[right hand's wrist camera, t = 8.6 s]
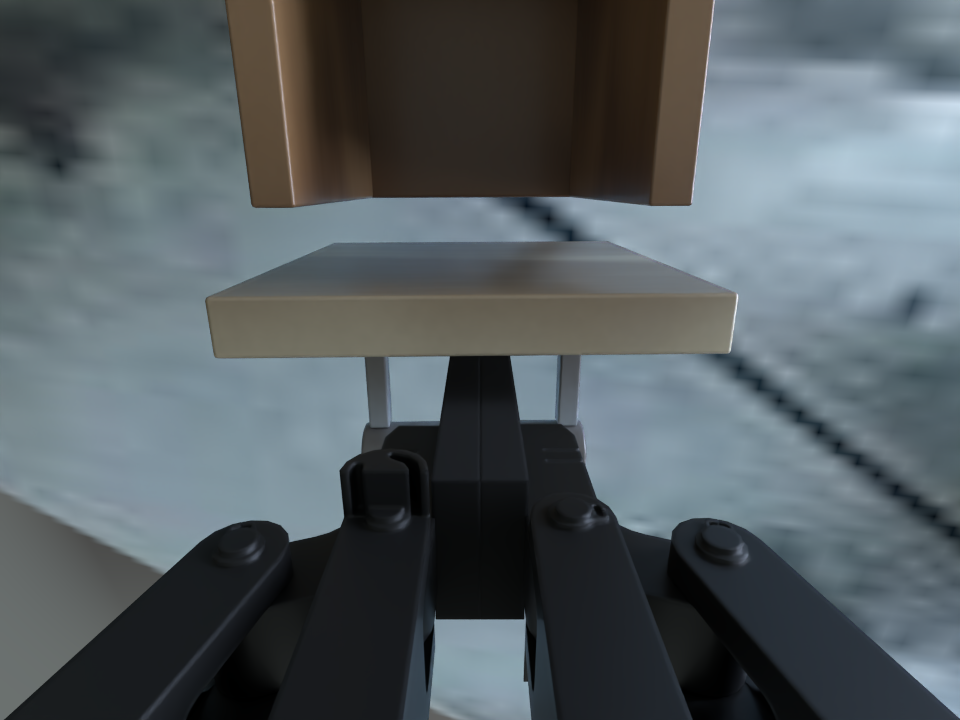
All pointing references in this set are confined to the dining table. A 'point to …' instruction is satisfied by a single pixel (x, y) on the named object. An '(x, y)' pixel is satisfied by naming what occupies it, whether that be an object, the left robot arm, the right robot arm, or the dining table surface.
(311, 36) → the drawer
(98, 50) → the dining table surface
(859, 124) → the dining table surface
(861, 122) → the dining table surface
